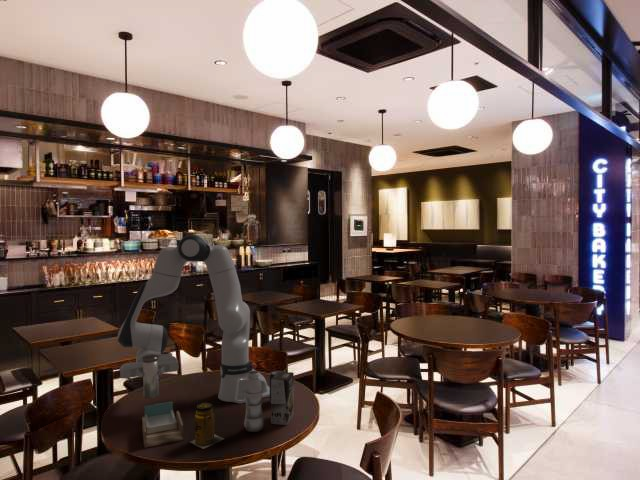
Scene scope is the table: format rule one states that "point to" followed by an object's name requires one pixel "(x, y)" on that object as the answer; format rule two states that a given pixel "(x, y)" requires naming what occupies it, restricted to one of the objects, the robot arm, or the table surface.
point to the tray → (160, 417)
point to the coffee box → (282, 398)
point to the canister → (150, 376)
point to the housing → (163, 434)
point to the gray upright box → (272, 377)
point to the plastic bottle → (253, 402)
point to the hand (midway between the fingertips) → (150, 374)
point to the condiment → (205, 426)
